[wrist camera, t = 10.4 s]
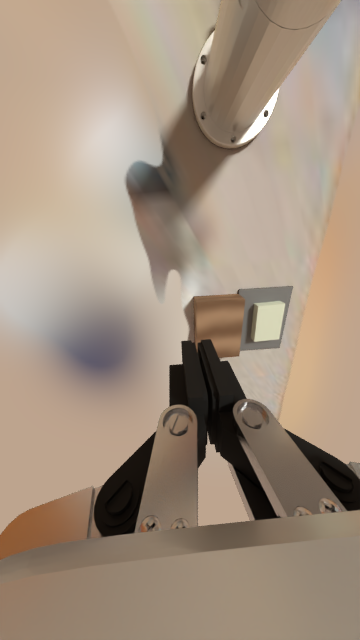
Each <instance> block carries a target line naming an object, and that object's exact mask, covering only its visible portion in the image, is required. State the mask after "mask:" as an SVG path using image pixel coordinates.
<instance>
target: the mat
mask: <svg viewBox="0 0 360 640" xmlns="http://www.w3.org/2000/svg"><path fill="white" fill-rule="evenodd" d="M292 289H293V286H286V287H270V288H254V289H239V292H238V294H239V295H241V296H242V297H243V298H244V299H245V308H244V317H243V326H242V335H241V344H240V351H241V350H255V349H269V348H280V343H281V339H282V334H283V330H284V325H285V321H286V316H287V312H288V307H289V302H290V298H291V293H292ZM274 301H281V302H283V303H285V309H284V314H283V320H282V326H281V331H280V337H279V339H277V340H267V341H257V342H254V341H253V340H252V339H251V330H252V320H253V309H254V303H263V302H274Z"/></svg>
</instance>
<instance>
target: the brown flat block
mask: <svg viewBox="0 0 360 640" xmlns="http://www.w3.org/2000/svg"><path fill="white" fill-rule="evenodd" d="M244 308H245V299H244V298H243V297H242V296H241V295H239V294H228V295H212V296H196V297H194V338H195V345H196V349H197V343H198V342H201V340H205V339H211V341H212V343H213V345H214V348H215V350H216V352H217V355H218V357H219V358H222V357H235V356H239V353H240V344H241V335H242V326H243V317H244Z"/></svg>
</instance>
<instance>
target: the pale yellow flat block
mask: <svg viewBox="0 0 360 640" xmlns="http://www.w3.org/2000/svg"><path fill="white" fill-rule="evenodd" d="M284 309H285V303H283V302H281V301H274V302H263V303H254V309H253V320H252V330H251V339H252V340H253V341H254V342H257V341H267V340H277V339H279V337H280V331H281V326H282V320H283V314H284Z"/></svg>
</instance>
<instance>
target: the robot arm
mask: <svg viewBox="0 0 360 640" xmlns="http://www.w3.org/2000/svg"><path fill="white" fill-rule="evenodd" d="M341 1H342V0H221V4H220V8H219V13H218V18H217V22H216V27H215V30H214V31H213V32H212V33H211V35H210V36H209V38H208V39H207V40H206V42H205V43H204V45H203V47H202V49H201V51H200V53H199V57H198V60H197V63H196V66H195V71H194V77H193V85H192V101H193V108H194V113H195V116H196V119H197V122H198V124H199V126H200V128H201V130H202V132H203V133H204V134H205V136H206V137H207V138H208V139H209V140H210V141H211V142H212V143H214V144H216V145H217V146H219V147H223V148H231V149H233V148H238V147H241V146H243V145H245V144H247V143H249V142H250V141H251V140H253V139H254V138H255V137H256V136H257V135H258V134H259V133H260V131H261V130H262V129H263V127H264V126H265V125H266V123H267V122H268V120H269V118H270V116H271V114H272V112H273V109H274V106H275V104H276V100H277V96H278V90H279V87H280V86H281V85H282V83H283V82H284V80H285V79H286V78H287V76H288V75H289V73H290V72H291V71H292V69H293V68H294V66H295V65H296V64H297V62H298V61H299V59H300V58H301V57H302V55H303V54H304V52H305V51H306V50H307V48H308V47H309V45H310V44H311V43H312V41H313V40H314V38H315V37H316V36H317V34H318V33H319V31H320V30H321V29H322V27H323V26H324V24H325V23H326V22H327V20H328V19H329V17H330V16H331V15H332V13H333V12H334V10H335V9H336V8H337V6H338V5H339V3H340V2H341ZM202 63H203V64H204V65H203V64H202ZM201 118H204V120H202V119H201ZM231 140H232V141H233V143H232V142H231ZM182 362H183V364H179V365H170V407H168V408H167V409H165V410H164V411H163V413H162V414H161V416H160V419H159V422H158V426H157V431H156V432H155V433H154V434H153V435H152V436H151V437H150V438H149V439H148V440H147V441H146V442H145V443H144V444H143V445H142V446H141V447H140V448H139V449H138V450H137V451H136V452H135V453H134V454H133V455H132V456H131V457H130V458H129V459H128V460H127V461H126V462H125V463H124V464H123V465H122V466H121V467H120V468H119V469H118V470H117V471H116V472H115V473H114V474H113V475H112V476H111V477H110V478H109V479H108V480H107V481H106V482H105V484H104V485H102V486H100V487H97V488H94V487H93V486H91V487H88V488H86V489H83V490H80V491H78V492H75V493H72V494H69V495H67V496H64V497H61V498H59V499H56V500H54V501H50V502H48V503H45V504H42V505H40V506H37V507H35V508H32V509H29V510H27V511H26V512H24V513H22V514H20V515H19V516H17V518H15V519H14V520H13V521H12V522H11V523H10V524H9V525H8V526H7V527H6V528H5V530H4V531H3V532H2V533H1V535H0V640H360V463H355V462H350V463H349V464H344V463H343V462H341V461H340V460H338V459H337V458H335V457H334V456H332V455H330V454H328V453H326V452H325V451H323V450H321V449H319V448H318V447H316V446H314V445H312V444H311V443H309V442H307V441H305V440H304V439H301V438H300V437H298V436H296V435H294V434H293V433H291V432H289V431H288V430H286V429H284V428H283V427H282V426H281V425H280V423H279V422H278V421H277V419H276V418H275V417H274V415H273V414H272V413H271V412H270V410H269V409H268V408H267V407H266V406H264V405H263V404H261V403H260V402H258V401H255V400H251V399H246V396H245V394H244V392H243V390H242V388H241V386H240V384H239V382H238V380H237V378H236V376H235V374H234V372H233V370H232V368H231V366H230V364H229V362H228V361H220V359H219V357H218V355H217V352H216V350H215V348H214V345H213V343H212V341H211V339H205V340H201V342H198V343H197V349H196V345H195V343H191V341H182ZM207 431H208V435H209V440H210V444H215V449H216V452H220V454H221V456H222V457H223V458H224V459H225V460H227V461H228V465H229V468H230V471H231V474H232V476H233V479H234V481H235V484H236V486H237V489H238V491H239V494H240V496H241V499H242V501H243V504H244V507H245V509H246V512H247V514H248V517H249V519H250V521H246V522H237V523H226V524H218V525H207V526H198V468H199V466H200V465H201V463H202V462H203V460H204V459H205V453H206V445H207Z"/></svg>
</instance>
